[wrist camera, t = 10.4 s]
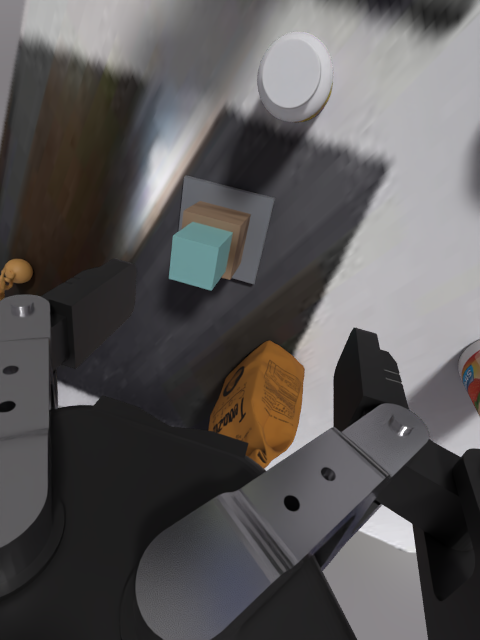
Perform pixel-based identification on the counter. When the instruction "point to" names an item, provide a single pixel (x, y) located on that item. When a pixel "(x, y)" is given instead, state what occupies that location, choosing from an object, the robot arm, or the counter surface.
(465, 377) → the fruit juice
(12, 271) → the figurine
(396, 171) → the counter surface
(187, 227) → the teal block
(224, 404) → the coffee package
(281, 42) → the supplement bottle
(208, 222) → the walnut block
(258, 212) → the slate pad
